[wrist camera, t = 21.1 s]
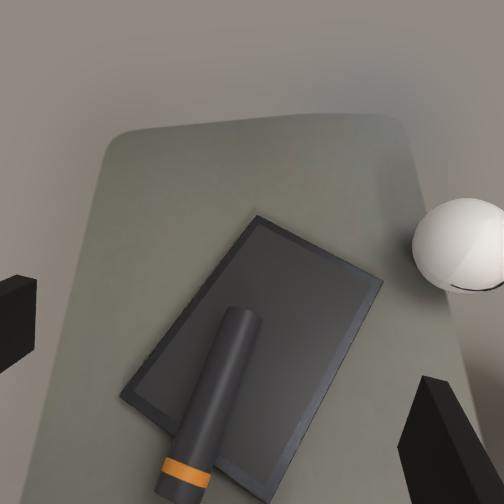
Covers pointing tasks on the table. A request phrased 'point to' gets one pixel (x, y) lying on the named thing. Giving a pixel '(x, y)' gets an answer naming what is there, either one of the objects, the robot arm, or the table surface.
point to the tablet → (262, 348)
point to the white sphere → (461, 246)
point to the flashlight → (209, 409)
